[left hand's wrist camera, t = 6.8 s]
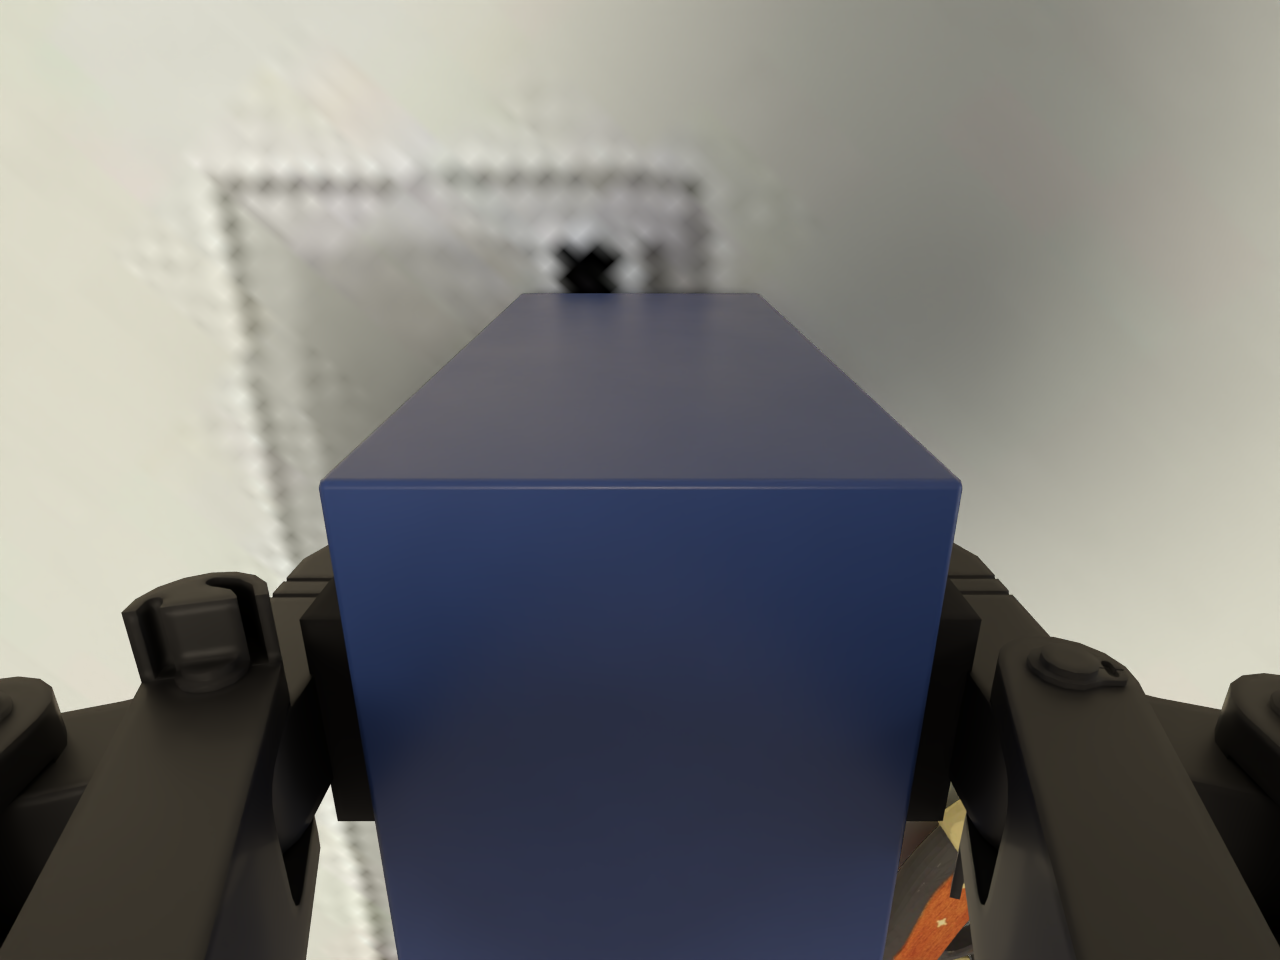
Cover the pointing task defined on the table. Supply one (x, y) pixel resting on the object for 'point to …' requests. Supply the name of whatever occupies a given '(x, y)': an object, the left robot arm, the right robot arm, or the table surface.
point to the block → (640, 637)
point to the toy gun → (931, 899)
